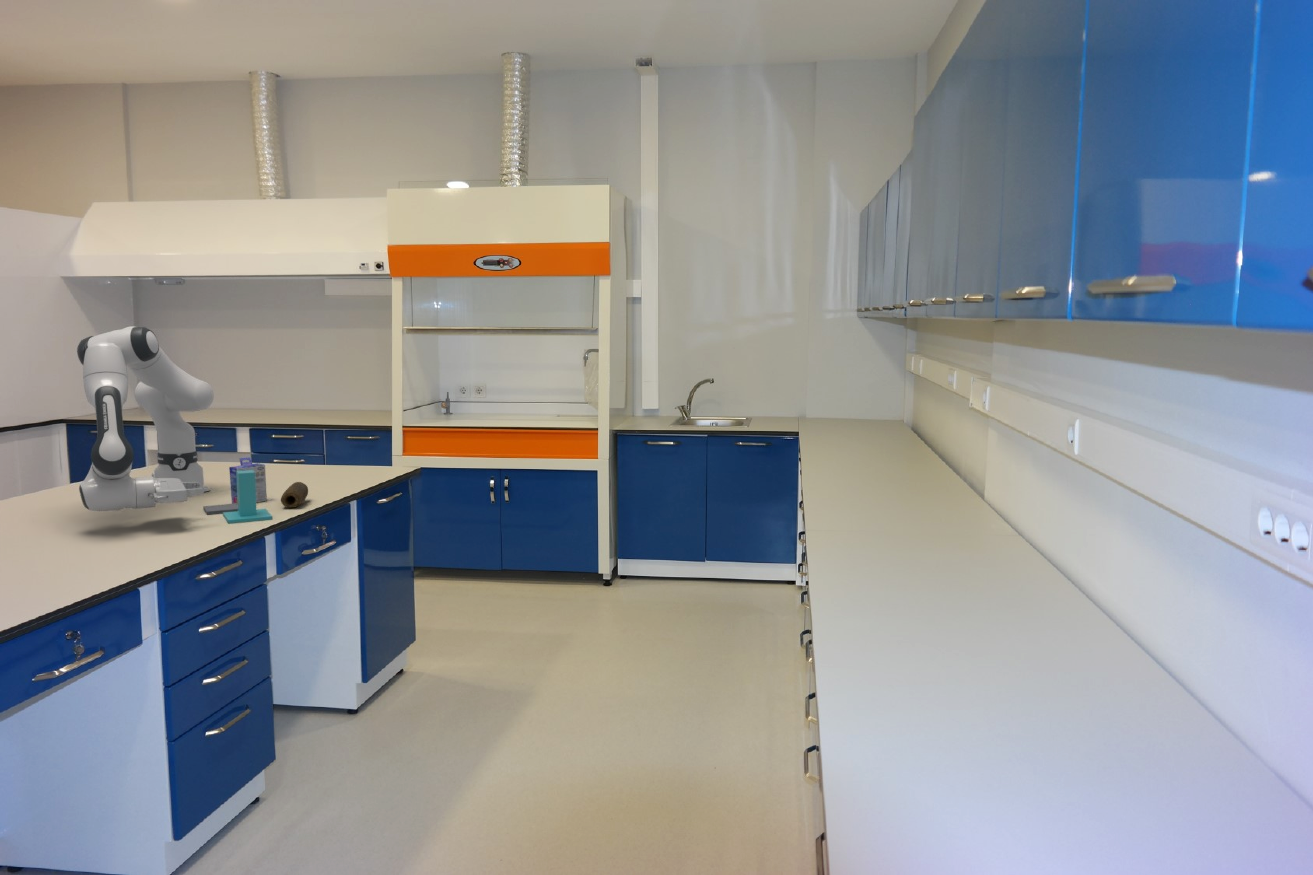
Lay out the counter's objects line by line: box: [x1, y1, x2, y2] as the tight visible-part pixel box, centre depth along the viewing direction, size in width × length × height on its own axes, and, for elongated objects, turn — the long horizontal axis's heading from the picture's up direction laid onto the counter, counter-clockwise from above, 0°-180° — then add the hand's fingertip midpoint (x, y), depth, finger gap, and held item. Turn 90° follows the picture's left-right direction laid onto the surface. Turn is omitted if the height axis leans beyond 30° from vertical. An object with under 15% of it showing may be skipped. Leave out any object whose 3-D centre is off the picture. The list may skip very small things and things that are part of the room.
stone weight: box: [280, 481, 309, 508], centre depth 292 cm, size 15×7×7 cm, turn 15°
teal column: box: [236, 470, 257, 517], centre depth 272 cm, size 4×4×13 cm
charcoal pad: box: [203, 503, 238, 516], centre depth 282 cm, size 9×12×1 cm
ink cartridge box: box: [228, 457, 268, 504], centre depth 294 cm, size 10×6×14 cm, turn 142°
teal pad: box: [222, 508, 273, 525], centre depth 272 cm, size 12×12×1 cm
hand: (201, 488), depth 265 cm, fingers open, 8 cm apart
